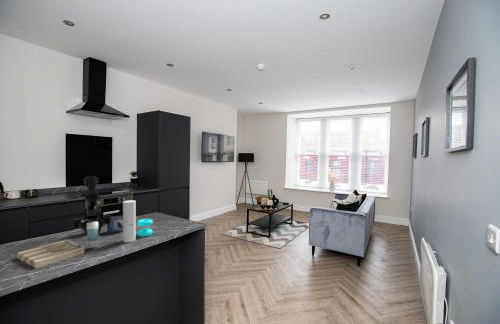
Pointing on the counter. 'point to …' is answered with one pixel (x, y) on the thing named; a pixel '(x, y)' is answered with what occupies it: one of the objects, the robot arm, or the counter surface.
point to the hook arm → (72, 243)
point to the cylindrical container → (129, 221)
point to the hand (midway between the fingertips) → (92, 234)
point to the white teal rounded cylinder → (92, 233)
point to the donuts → (145, 231)
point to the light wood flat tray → (49, 254)
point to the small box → (115, 225)
